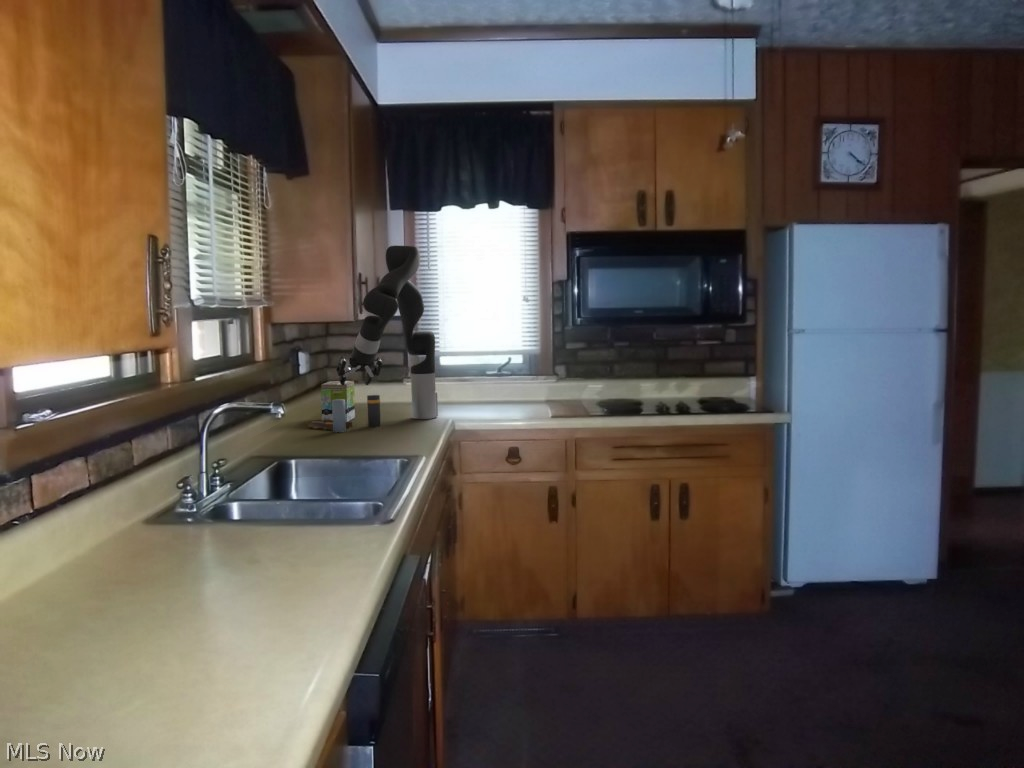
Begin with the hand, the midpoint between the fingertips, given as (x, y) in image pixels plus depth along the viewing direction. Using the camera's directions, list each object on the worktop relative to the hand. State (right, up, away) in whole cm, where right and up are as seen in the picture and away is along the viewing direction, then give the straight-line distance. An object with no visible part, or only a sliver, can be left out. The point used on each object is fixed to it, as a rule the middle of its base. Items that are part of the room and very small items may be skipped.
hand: (353, 383), depth 270 cm
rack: (-12, -16, +21) cm, 29 cm away
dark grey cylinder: (+3, -15, +24) cm, 28 cm away
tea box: (-13, -14, +40) cm, 44 cm away
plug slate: (-7, -17, +12) cm, 22 cm away
